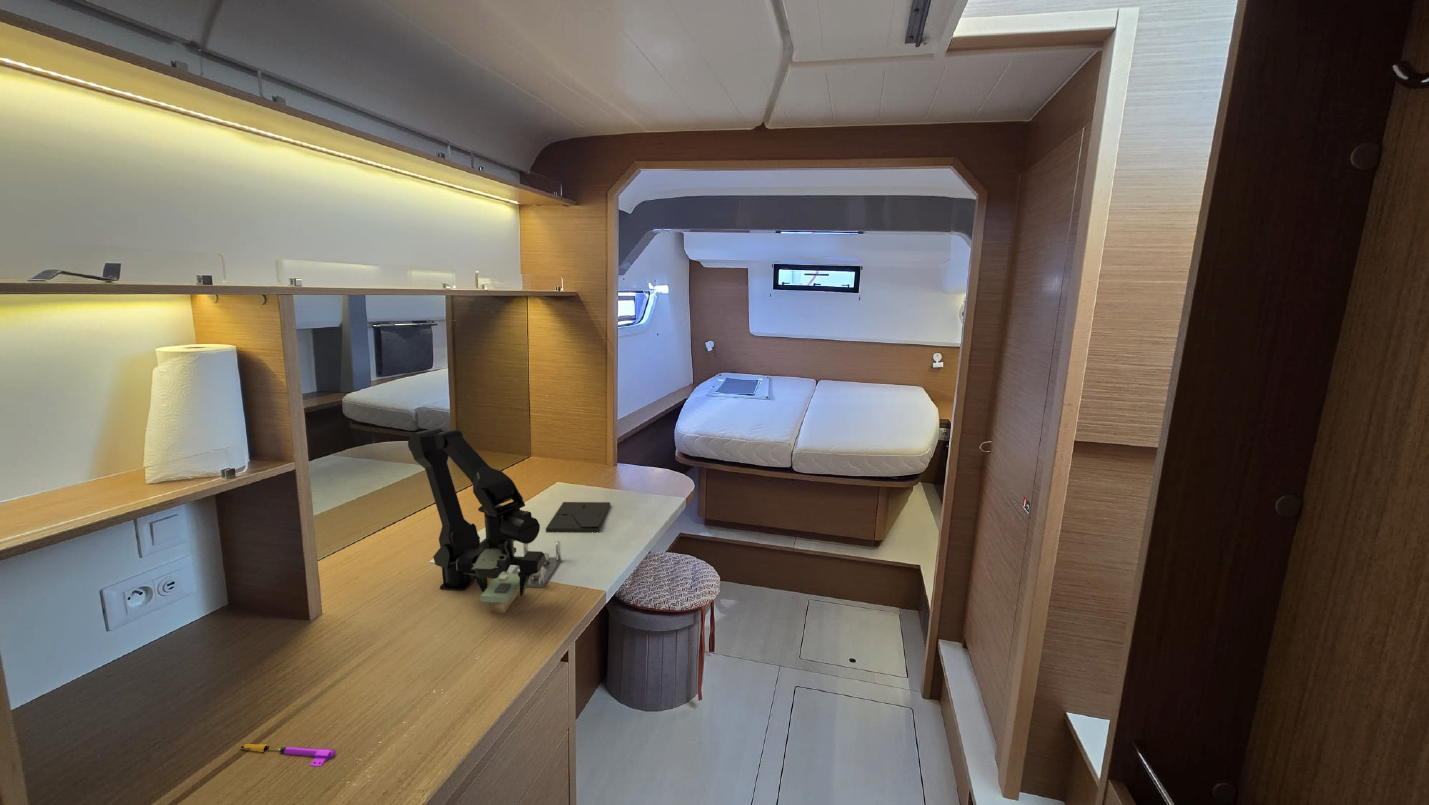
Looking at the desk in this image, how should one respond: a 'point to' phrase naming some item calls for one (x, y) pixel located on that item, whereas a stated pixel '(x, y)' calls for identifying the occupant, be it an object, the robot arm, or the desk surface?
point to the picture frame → (579, 517)
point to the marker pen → (302, 752)
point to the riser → (502, 605)
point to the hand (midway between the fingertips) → (503, 594)
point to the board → (501, 588)
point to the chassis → (542, 568)
